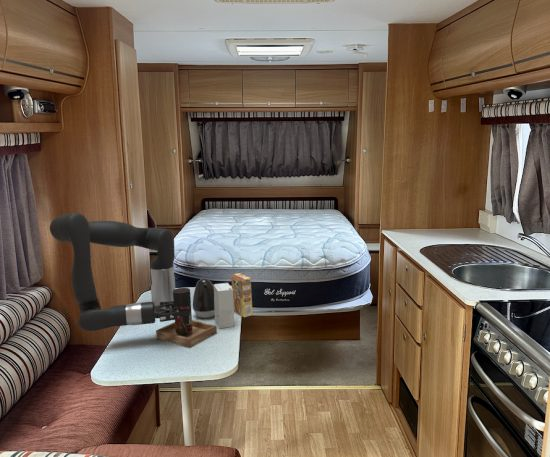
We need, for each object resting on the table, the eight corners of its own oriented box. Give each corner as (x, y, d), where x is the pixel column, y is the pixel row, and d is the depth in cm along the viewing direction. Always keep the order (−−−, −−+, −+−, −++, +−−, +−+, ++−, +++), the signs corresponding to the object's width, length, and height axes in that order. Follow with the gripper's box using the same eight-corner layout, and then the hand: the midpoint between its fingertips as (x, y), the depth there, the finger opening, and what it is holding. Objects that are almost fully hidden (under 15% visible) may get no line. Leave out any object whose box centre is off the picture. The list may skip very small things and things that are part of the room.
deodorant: (177, 327, 183) (174, 287, 180) (194, 327, 183) (191, 287, 180) (173, 334, 177) (170, 293, 174) (190, 334, 177) (188, 293, 174)
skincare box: (214, 321, 193) (212, 284, 190) (230, 319, 195) (227, 281, 192) (219, 329, 185) (217, 290, 183) (235, 326, 187) (233, 288, 184)
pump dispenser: (195, 322, 193) (192, 284, 190) (191, 313, 203) (189, 276, 200) (221, 318, 196) (219, 280, 193) (217, 309, 206) (214, 273, 203)
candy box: (253, 315, 198) (251, 277, 195) (243, 317, 196) (241, 279, 193) (241, 309, 205) (239, 272, 202) (232, 311, 203) (230, 274, 200)
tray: (156, 337, 180) (155, 330, 180) (184, 324, 191) (184, 317, 191) (189, 347, 171) (188, 339, 170) (216, 333, 182) (216, 325, 182)
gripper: (138, 310, 168) (190, 305, 171) (140, 296, 182) (188, 292, 185) (140, 331, 169) (191, 326, 173) (142, 316, 183) (189, 311, 186)
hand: (189, 308), depth 179 cm, fingers closed on deodorant, 6 cm apart
